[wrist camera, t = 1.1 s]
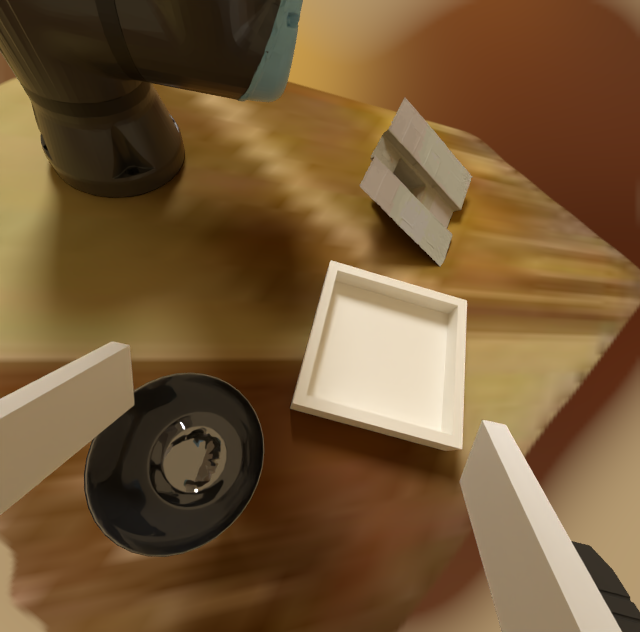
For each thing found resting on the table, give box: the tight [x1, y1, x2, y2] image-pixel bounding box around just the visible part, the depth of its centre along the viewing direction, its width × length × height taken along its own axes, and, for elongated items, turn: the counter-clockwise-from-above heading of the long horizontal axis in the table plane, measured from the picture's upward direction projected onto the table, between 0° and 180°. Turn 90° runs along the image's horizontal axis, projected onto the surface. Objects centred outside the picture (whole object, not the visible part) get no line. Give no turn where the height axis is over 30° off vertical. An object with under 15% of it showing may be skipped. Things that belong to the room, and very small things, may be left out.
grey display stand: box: [360, 99, 472, 266], centre depth 44 cm, size 16×9×15 cm
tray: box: [290, 261, 467, 451], centre depth 34 cm, size 16×16×3 cm
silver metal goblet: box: [84, 373, 264, 557], centre depth 22 cm, size 8×8×15 cm
